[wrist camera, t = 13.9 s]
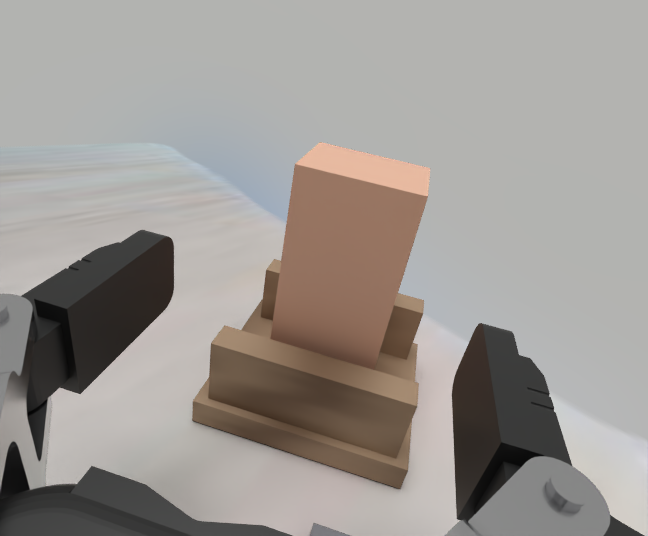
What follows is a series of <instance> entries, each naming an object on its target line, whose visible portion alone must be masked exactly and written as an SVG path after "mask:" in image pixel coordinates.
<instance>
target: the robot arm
mask: <svg viewBox="0 0 648 536" xmlns="http://www.w3.org/2000/svg"><path fill="white" fill-rule="evenodd" d="M173 290H174V245H173V241H172V239H171V238H170V237H167V236H163V235H160V234H156V233H152V232H149V231H145V230H140V231H138V232H136V233H135V234H133V235H132V236H130V237H129V238H127V239H126V240H124V241H122V242H121V243H119V242H118V243H114V244H111V245H108V246H104V247H101V248H98V249H96V250H94V251H93V252H91V253H90V254H88V255H86V256H85V257H83V258H82V260H81V261H80V260H78V261H77V262H75V263H73V264H72V265H70V266H69V268H68V269H66V268H65V269H64V270H62V271H61V272H59V273H57V274H56V275H54V276H53V277H51V278H49V279H48V280H46V281H44V282H43V283H41V284H40V285H38V286H36V287H35V288H33V289H32V290H30V291H28V292H27V293H25V294H24V295H22V296H18V295H13V294H0V536H292V535H289V534H286V533H283V532H280V531H278V530H275V529H272V528H269V527H266V526H263V525H247V524H232V523H217V522H202V521H197V520H194V519H192V518H191V517H189V516H188V515H186V514H185V513H184V512H182V511H181V510H180V509H178V508H177V507H175V506H174V505H173V504H171V503H170V502H169V501H167V500H166V499H165V498H163V497H162V496H160V495H159V494H158V493H156V492H155V491H154V490H152V489H151V488H150V487H148V486H147V485H145V484H142V483H139V482H136V481H134V480H131V479H128V478H125V477H122V476H119V475H116V474H113V473H110V472H108V471H105V470H102V469H99V468H96V467H93V466H91V468H90V469H89V470H88V471H87V473H86V474H85V475H84V476H83V478H82V479H81V480H80V481H79V483H78V484H59V485H51V486H46V464H47V454H48V443H49V433H50V422H51V412H52V400H51V395H52V394H53V393H54V392H55V391H56V390H57V389H58V388H59V387H60V388H63V389H66V390H69V391H72V392H75V393H78V394H81V393H82V392H83V391H84V390H85V389H86V388H87V387H88V386H89V385H90V384H91V383H92V382H93V381H94V380H95V379H96V378H97V377H98V376H99V375H100V374H101V373H102V372H103V371H104V370H105V369H106V368H107V367H108V366H109V365H110V364H111V363H112V362H113V361H114V360H115V359H116V358H117V357H118V356H119V355H120V354H121V353H122V352H123V351H124V350H125V349H126V348H127V347H128V346H129V345H130V344H131V343H132V342H133V341H134V340H135V339H136V338H137V337H138V336H139V335H140V334H141V333H142V332H143V331H144V330H145V329H146V328H147V327H148V326H149V325H150V324H151V323H152V322H153V321H154V320H155V319H156V318H157V317H158V316H159V315H160V314H161V313H162V312H163V311H164V310H165V309H166V308H167V306H168V304H169V303H170V301H171V298H172V295H173ZM549 394H550V393H549V390H548V387H547V384H546V381H545V378H544V375H543V374H542V373H541V372H540V370H539V369H538V368H537V366H536V365H535V364H534V363H533V361H532V360H531V359H530V358H527V357H523V356H520V355H519V354H518V350H517V346H516V342H515V338H514V334H513V333H512V332H511V331H507V330H504V329H500V328H496V327H493V326H489V325H486V324H482V323H480V324H478V326H477V327H476V329H475V331H474V333H473V335H472V337H471V340H470V342H469V344H468V346H467V349H466V351H465V353H464V356H463V358H462V360H461V362H460V365H459V367H458V369H457V372H456V375H455V378H454V383H453V389H452V407H453V432H454V457H455V483H456V508H457V519H458V520H461V521H460V522H458V523H457V524H456V525H455V526H454V527H453V528H452V529H451V530H450V531H449V532H448V533H447V534H446V535H445V536H644V535H642V534H640V533H639V532H637V531H635V530H634V529H632V528H630V527H628V526H627V525H625V524H623V523H622V522H620V521H618V520H617V519H615V518H614V517H612V516H611V515H610V512H609V509H608V506H607V503H606V501H605V499H604V497H603V496H602V494H601V493H600V491H599V490H598V489H597V488H596V486H595V485H594V484H593V483H592V482H591V481H590V480H589V479H588V478H587V477H586V476H585V475H584V474H582V473H581V472H580V471H578V470H577V469H576V468H574V467H572V464H571V460H570V457H569V454H568V451H567V448H566V444H565V441H564V438H563V435H562V432H561V429H560V425H559V422H558V419H557V416H556V413H555V412H554V406H553V403H552V400H551V397H549Z"/></svg>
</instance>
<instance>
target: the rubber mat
mask: <svg viewBox="0 0 648 536" xmlns="http://www.w3.org/2000/svg"><path fill="white" fill-rule="evenodd" d="M310 536H350V535H347V534H344V533H342V532H339V531H336V530H333V529H330V528H327V527H324V526H321V525H319V524H316V523H313V527H312V530H311V534H310Z"/></svg>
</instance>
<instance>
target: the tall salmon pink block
mask: <svg viewBox="0 0 648 536" xmlns="http://www.w3.org/2000/svg"><path fill="white" fill-rule="evenodd" d="M429 177H430V168H427V167H423V166H418V165H414V164H410V163H406V162H402V161H397V160H393V159H389V158H385V157H381V156H376V155H372V154H367V153H364V152H360V151H355V150H350V149H347V148H343V147H338V146H334V145H330V144H326V143H322V142H320V143H318V144H317V145H316V146H315V147H314V148H313V149H312V150H310V151H309V152H308V153H307V154H306V155H305V156H304V157H302V158H301V159H300V160H299V161H298V162H297V163H296V164H295V168H294V175H293V182H292V189H291V196H290V203H289V210H288V217H287V224H286V231H285V238H284V245H283V252H282V259H281V267H280V274H279V281H278V288H277V295H276V302H275V309H274V316H273V323H272V330H271V337H270V339H272V340H275V341H278V342H282V343H285V344H288V345H292V346H295V347H299V348H302V349H305V350H309V351H312V352H315V353H319V354H322V355H325V356H329V357H332V358H335V359H339V360H342V361H345V362H349V363H352V364H355V365H359V366H362V367H366V368H369V369H372V370H374V368H375V365H376V362H377V358H378V355H379V352H380V349H381V345H382V342H383V339H384V336H385V333H386V329H387V326H388V323H389V320H390V317H391V313H392V310H393V307H394V304H395V301H396V297H397V294H398V291H399V287H400V285H401V281H402V278H403V275H404V272H405V268H406V265H407V262H408V259H409V256H410V252H411V249H412V246H413V243H414V239H415V236H416V233H417V230H418V226H419V223H420V220H421V217H422V213H423V211H424V208H425V204H426V201H427V197H428V189H429Z"/></svg>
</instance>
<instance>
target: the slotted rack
mask: <svg viewBox="0 0 648 536" xmlns="http://www.w3.org/2000/svg"><path fill="white" fill-rule="evenodd" d="M280 267H281V261H279V260H275V259H274V260H273V262H272V263H271V264H270V266H269V267H268V268H267V270H266V277H265V285H264V293H263V300H261V302H260V303H259V305H258V306H257V308H256V309H255V311H254V312H253V313H252V315H251V316H250V318H249V319H248V321H247V322H246V324H245V325H244V327H243V328H242V330H238V329H235V328H232V327H228V326H224V327H223V328H222V330H221V331H220V332H219V334H218V335H217V336H216V338H215V339H214V340H213V342H212V343H211V355H210V374H209V378H208V380H207V381H206V382H205V384H204V385H203V387H202V388H201V390H200V391H199V393H198V394H197V396H196V397H195V399H194V400H193V418H192V421H195V422H198V423H201V424H205V425H208V426H211V427H214V428H217V429H220V430H223V431H226V432H229V433H232V434H235V435H238V436H241V437H244V438H247V439H250V440H253V441H256V442H259V443H262V444H265V445H268V446H271V447H274V448H277V449H280V450H283V451H286V452H289V453H292V454H295V455H299V456H302V457H305V458H308V459H311V460H314V461H317V462H320V463H323V464H326V465H329V466H332V467H335V468H338V469H341V470H344V471H347V472H350V473H353V474H356V475H359V476H362V477H365V478H368V479H371V480H374V481H377V482H380V483H383V484H386V485H390V486H393V487H396V488H399V489H400V487H401V485H402V483H403V481H404V478H405V476H406V474H407V471H408V462H409V449H410V436H411V423H412V418H413V415H414V413H415V410H416V408H417V401H418V386H419V383H416V382H415V370H416V357H417V344H415V343H413V340H414V338H415V335H416V332H417V329H418V326H419V324H420V321H421V318H422V315H423V308H424V300H421V299H417V298H413V297H410V296H406V295H403V294H399V293H398V294H397V297H396V301H395V304H394V307H393V310H392V313H391V317H390V320H389V323H388V326H387V329H386V333H385V336H384V339H383V342H382V345H381V349H380V352H379V355H378V358H377V362H376V365H375V368H374V370H372V369H369V368H366V367H362V366H359V365H355V364H352V363H349V362H345V361H342V360H339V359H335V358H332V357H329V356H325V355H322V354H319V353H315V352H312V351H309V350H305V349H302V348H299V347H295V346H292V345H288V344H285V343H282V342H278V341H275V340H272V339H270V337H271V330H272V323H273V316H274V309H275V302H276V295H277V288H278V281H279V274H280Z"/></svg>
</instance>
